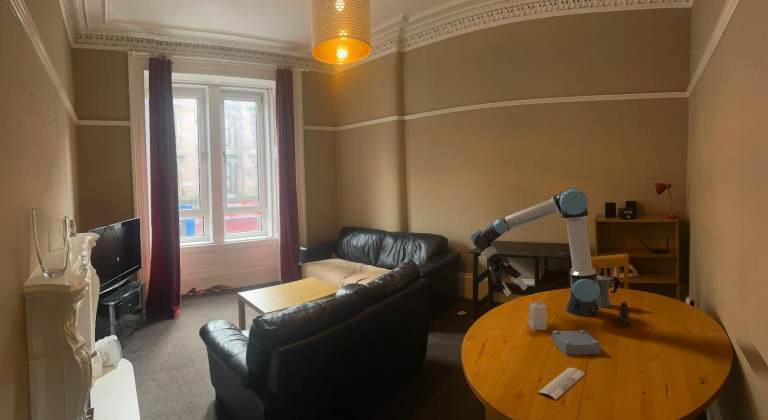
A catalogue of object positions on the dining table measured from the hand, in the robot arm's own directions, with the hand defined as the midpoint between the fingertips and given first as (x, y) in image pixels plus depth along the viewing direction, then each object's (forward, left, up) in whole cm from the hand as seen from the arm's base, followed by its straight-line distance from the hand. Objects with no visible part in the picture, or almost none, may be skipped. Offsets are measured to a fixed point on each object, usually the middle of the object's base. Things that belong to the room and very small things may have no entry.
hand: (517, 291), depth 198 cm
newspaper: (+2, +60, -16) cm, 62 cm away
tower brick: (-7, +8, -15) cm, 18 cm away
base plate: (-15, +30, -15) cm, 37 cm away
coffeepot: (-52, -21, -15) cm, 58 cm away
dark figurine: (-48, +5, -15) cm, 51 cm away
